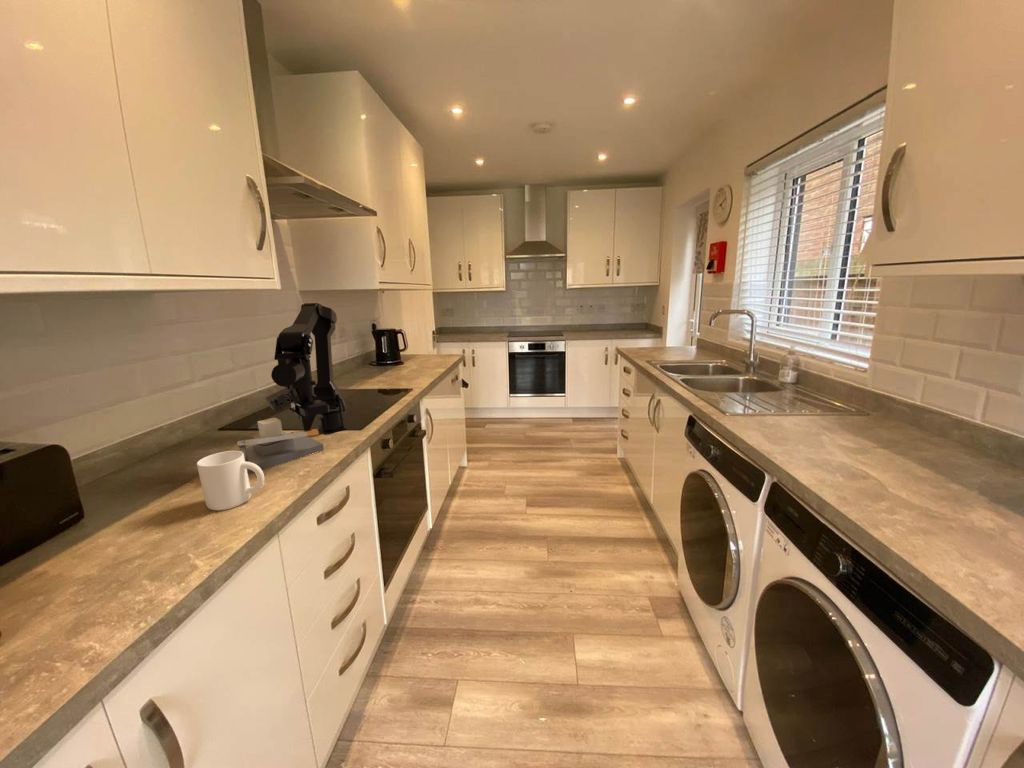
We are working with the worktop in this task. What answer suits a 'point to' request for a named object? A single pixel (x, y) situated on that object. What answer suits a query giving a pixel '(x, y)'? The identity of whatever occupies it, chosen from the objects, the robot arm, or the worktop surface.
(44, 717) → the worktop surface
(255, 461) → the socket block
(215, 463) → the mug
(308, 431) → the latch bar
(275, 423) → the plug
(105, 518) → the worktop surface
